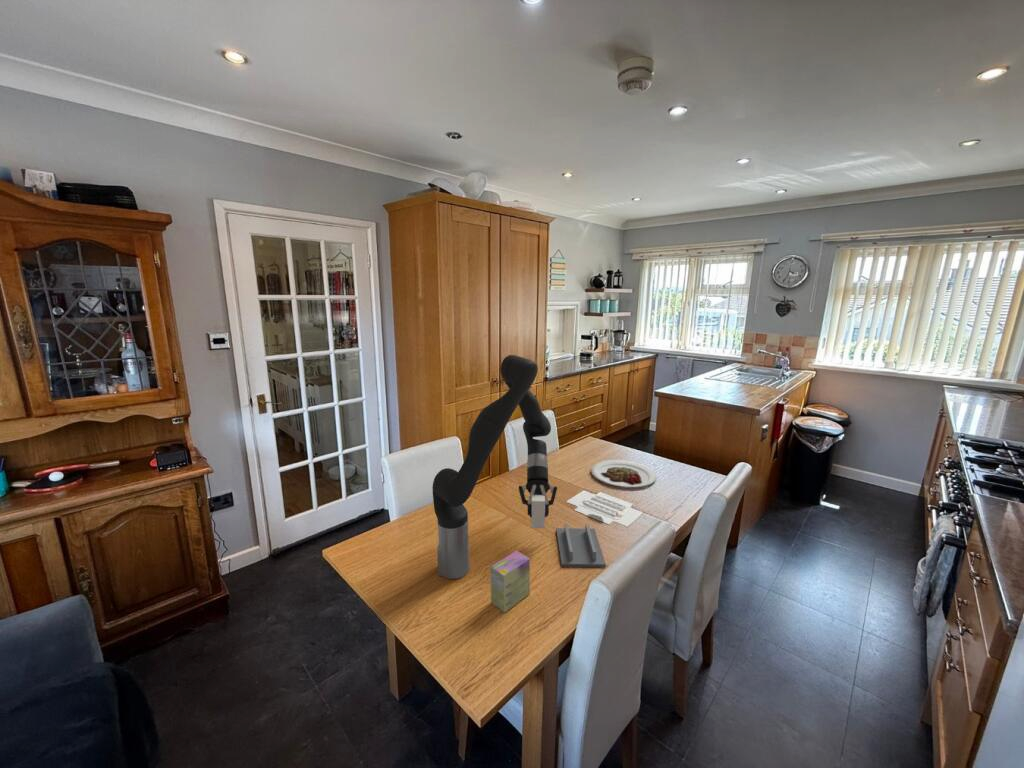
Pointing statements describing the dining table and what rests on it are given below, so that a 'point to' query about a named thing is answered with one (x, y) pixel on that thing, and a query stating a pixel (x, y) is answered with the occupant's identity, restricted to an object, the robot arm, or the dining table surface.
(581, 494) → the tray
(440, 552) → the robot arm
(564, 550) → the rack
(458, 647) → the dining table surface
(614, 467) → the plated food
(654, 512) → the dining table surface
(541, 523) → the block
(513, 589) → the box
